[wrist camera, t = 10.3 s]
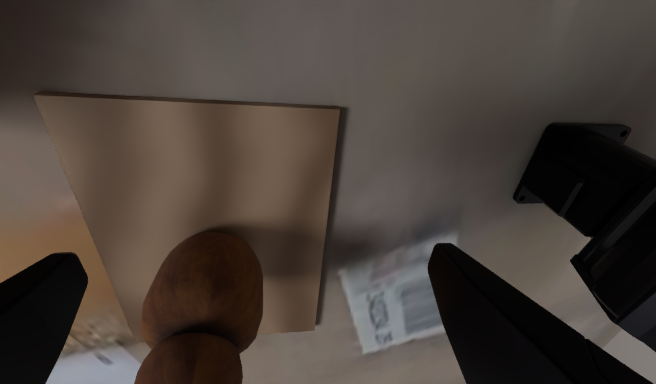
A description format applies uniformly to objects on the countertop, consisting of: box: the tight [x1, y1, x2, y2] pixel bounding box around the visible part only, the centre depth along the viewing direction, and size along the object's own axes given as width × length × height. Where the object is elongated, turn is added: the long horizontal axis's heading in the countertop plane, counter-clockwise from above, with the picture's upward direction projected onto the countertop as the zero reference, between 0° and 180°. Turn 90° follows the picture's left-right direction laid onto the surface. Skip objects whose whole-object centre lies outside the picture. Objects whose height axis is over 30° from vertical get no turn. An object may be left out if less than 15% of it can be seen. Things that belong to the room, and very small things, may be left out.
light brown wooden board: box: [33, 92, 340, 342], centre depth 24 cm, size 16×22×2 cm
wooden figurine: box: [134, 232, 263, 384], centre depth 17 cm, size 7×6×15 cm
